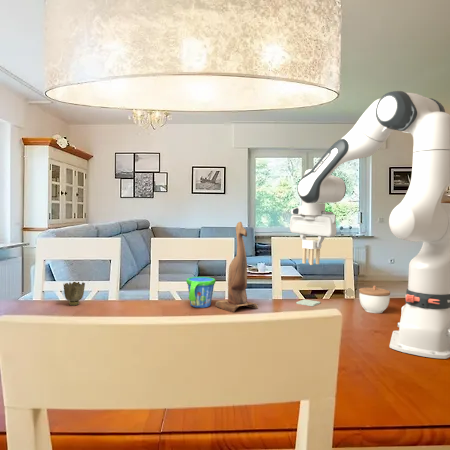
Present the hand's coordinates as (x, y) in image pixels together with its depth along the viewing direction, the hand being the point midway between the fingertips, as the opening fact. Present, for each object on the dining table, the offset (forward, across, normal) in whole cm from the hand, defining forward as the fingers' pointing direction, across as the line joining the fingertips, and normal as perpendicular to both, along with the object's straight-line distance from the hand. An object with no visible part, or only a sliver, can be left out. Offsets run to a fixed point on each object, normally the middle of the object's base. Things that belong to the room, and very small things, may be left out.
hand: (311, 246), depth 164 cm
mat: (+22, +1, -1) cm, 22 cm away
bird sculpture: (+23, +11, +28) cm, 38 cm away
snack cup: (+23, +21, +37) cm, 48 cm away
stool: (+7, 0, 0) cm, 7 cm away
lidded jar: (+22, -21, -11) cm, 33 cm away
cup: (+23, +48, +74) cm, 91 cm away
